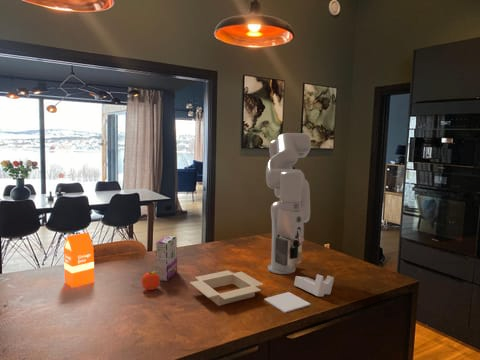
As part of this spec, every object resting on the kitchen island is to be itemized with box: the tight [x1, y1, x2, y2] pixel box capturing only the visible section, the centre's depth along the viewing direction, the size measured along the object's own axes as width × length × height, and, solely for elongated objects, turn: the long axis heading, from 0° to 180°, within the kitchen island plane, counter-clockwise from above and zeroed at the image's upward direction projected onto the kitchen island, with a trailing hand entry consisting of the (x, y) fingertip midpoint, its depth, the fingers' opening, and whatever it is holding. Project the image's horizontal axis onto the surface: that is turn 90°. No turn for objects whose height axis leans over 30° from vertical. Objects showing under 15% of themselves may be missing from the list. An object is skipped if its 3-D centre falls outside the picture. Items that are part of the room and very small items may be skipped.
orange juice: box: [63, 232, 95, 289], centre depth 150 cm, size 8×9×20 cm
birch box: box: [275, 237, 303, 266], centre depth 133 cm, size 8×5×9 cm, turn 122°
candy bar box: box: [155, 235, 178, 282], centre depth 158 cm, size 11×5×16 cm, turn 168°
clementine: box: [141, 270, 161, 291], centre depth 145 cm, size 8×7×7 cm
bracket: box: [293, 274, 335, 297], centre depth 148 cm, size 13×7×8 cm, turn 35°
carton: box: [189, 270, 264, 306], centre depth 143 cm, size 24×24×4 cm
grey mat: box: [263, 291, 311, 314], centre depth 136 cm, size 12×12×1 cm
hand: (288, 255), depth 134 cm, fingers closed on birch box, 5 cm apart
